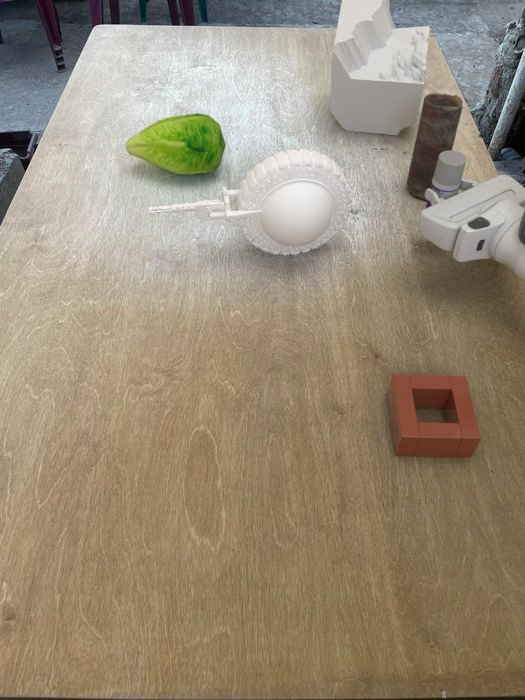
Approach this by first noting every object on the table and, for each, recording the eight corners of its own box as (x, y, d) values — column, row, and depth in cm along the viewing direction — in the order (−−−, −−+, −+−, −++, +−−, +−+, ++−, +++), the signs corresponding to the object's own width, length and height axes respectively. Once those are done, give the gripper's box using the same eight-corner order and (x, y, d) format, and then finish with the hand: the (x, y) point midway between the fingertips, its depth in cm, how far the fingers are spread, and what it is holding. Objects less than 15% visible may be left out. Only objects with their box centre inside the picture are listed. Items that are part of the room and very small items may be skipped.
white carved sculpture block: (420, 93, 150) (442, 1, 127) (414, 146, 144) (437, 61, 121) (336, 85, 152) (343, -6, 129) (327, 137, 147) (332, 52, 123)
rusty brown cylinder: (398, 192, 128) (418, 99, 113) (413, 175, 132) (435, 84, 117) (432, 205, 126) (457, 112, 110) (447, 188, 130) (473, 96, 114)
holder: (457, 395, 95) (466, 375, 91) (471, 457, 88) (481, 438, 84) (386, 394, 95) (392, 374, 91) (395, 456, 88) (401, 437, 84)
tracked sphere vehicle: (158, 290, 109) (143, 195, 93) (153, 237, 118) (139, 142, 103) (352, 269, 113) (368, 175, 98) (333, 220, 122) (345, 126, 107)
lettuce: (135, 151, 136) (127, 99, 127) (227, 152, 137) (225, 100, 128) (127, 189, 127) (117, 136, 118) (225, 189, 128) (223, 137, 119)
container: (420, 220, 116) (438, 148, 105) (446, 223, 116) (467, 151, 104) (419, 236, 113) (437, 163, 102) (446, 239, 113) (467, 167, 101)
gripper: (551, 191, 102) (488, 151, 109) (460, 235, 94) (399, 189, 102) (538, 222, 107) (478, 182, 114) (451, 266, 99) (393, 220, 107)
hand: (440, 185), depth 108 cm, fingers closed on container, 4 cm apart
